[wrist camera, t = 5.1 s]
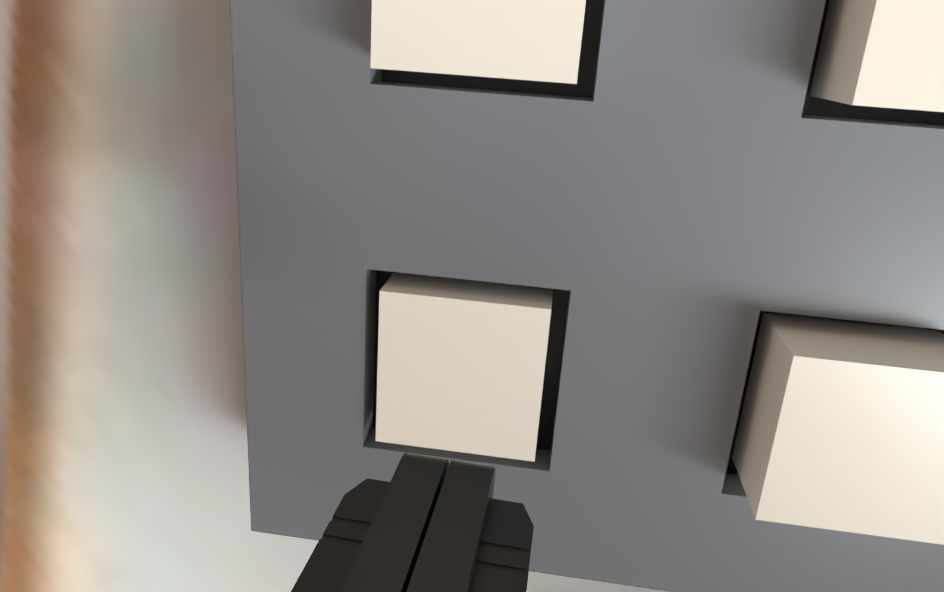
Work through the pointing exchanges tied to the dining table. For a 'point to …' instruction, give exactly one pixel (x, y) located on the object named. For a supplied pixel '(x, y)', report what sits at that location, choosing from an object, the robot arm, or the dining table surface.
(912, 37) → the button
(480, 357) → the button
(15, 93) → the dining table surface
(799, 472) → the button
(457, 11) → the button
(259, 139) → the button box
